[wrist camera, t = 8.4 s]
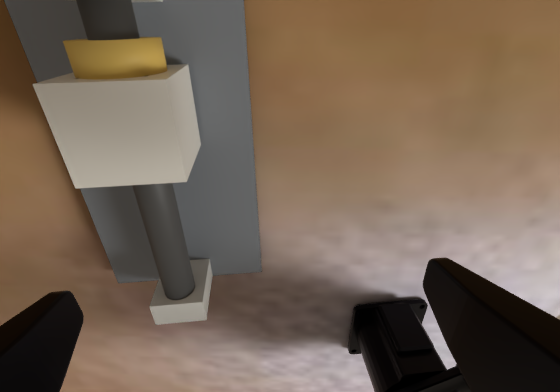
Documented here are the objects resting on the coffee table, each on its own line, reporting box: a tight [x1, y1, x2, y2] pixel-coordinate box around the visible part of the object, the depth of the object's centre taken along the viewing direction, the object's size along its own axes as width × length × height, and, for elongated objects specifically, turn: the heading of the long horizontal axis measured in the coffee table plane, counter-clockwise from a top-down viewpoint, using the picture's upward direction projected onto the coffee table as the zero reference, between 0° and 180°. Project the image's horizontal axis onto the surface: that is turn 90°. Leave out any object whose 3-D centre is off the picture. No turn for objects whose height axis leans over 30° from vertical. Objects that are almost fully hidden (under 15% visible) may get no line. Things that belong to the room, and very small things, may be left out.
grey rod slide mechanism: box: [4, 0, 262, 325], centre depth 15 cm, size 18×10×5 cm, turn 1°
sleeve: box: [33, 64, 201, 189], centre depth 13 cm, size 4×4×4 cm
